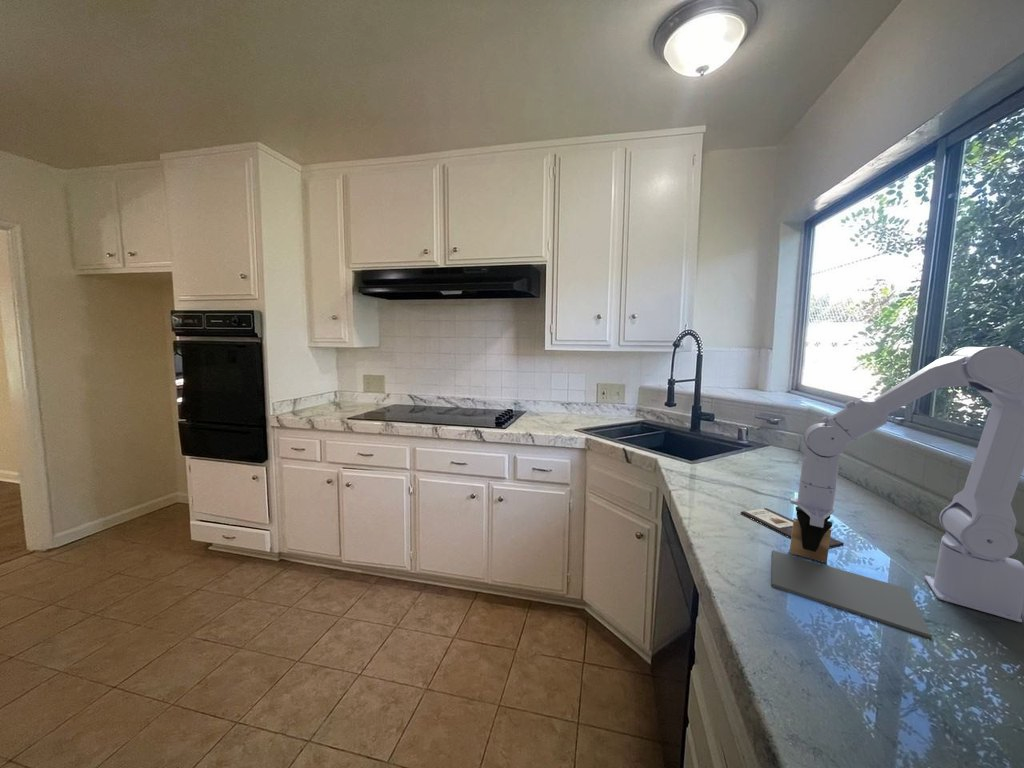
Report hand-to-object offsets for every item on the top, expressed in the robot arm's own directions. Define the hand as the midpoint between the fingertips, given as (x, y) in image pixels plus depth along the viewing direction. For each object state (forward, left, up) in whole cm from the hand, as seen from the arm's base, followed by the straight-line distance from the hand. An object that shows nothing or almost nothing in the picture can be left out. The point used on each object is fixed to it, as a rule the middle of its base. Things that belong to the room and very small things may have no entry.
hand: (808, 547), depth 80 cm
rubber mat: (-4, +10, -2) cm, 11 cm away
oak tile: (0, 0, -2) cm, 2 cm away
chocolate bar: (+3, -13, -3) cm, 14 cm away
